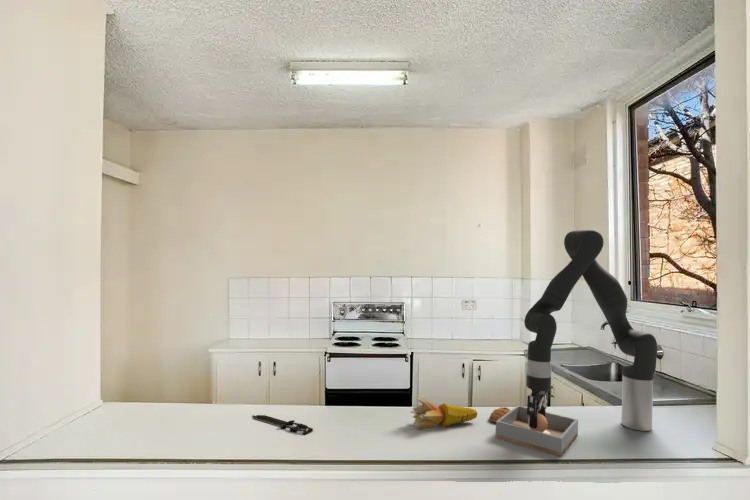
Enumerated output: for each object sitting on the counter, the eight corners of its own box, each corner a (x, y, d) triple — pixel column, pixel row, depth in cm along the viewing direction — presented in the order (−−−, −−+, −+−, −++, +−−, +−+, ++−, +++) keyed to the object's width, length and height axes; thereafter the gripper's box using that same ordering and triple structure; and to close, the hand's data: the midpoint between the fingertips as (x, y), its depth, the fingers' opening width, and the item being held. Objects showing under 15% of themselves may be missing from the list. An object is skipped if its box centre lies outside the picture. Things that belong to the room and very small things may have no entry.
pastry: (502, 426, 148) (502, 415, 148) (484, 421, 153) (484, 410, 153) (514, 419, 155) (514, 409, 155) (497, 414, 160) (497, 404, 160)
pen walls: (517, 416, 154) (517, 405, 155) (577, 431, 142) (578, 419, 142) (495, 433, 139) (495, 421, 139) (561, 452, 126) (561, 438, 126)
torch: (475, 434, 150) (409, 432, 142) (466, 416, 157) (403, 413, 149) (484, 417, 147) (418, 414, 139) (474, 399, 154) (410, 395, 146)
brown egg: (531, 426, 145) (531, 408, 145) (549, 431, 141) (550, 413, 141) (525, 432, 140) (525, 413, 140) (544, 437, 136) (544, 418, 136)
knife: (248, 418, 149) (248, 414, 149) (263, 413, 155) (263, 409, 155) (300, 438, 135) (301, 433, 135) (315, 431, 140) (315, 427, 140)
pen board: (517, 419, 154) (517, 416, 154) (577, 435, 142) (577, 431, 142) (495, 437, 139) (495, 433, 139) (561, 456, 126) (561, 451, 126)
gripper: (544, 380, 133) (542, 433, 133) (556, 371, 144) (555, 420, 144) (519, 375, 137) (518, 427, 137) (534, 367, 149) (532, 415, 148)
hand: (537, 423), depth 141 cm, fingers open, 8 cm apart
